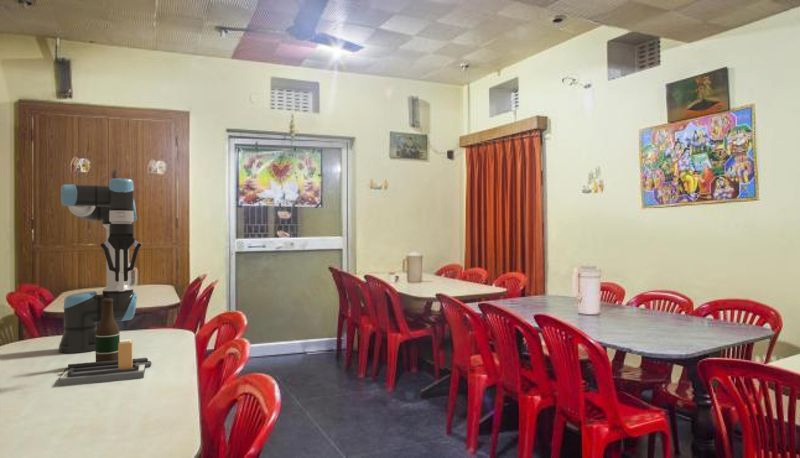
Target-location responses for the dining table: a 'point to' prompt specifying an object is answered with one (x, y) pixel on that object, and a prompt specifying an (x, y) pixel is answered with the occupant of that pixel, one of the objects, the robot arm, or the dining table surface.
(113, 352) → the beer bottle
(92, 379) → the grey rectangular tray
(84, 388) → the dining table surface
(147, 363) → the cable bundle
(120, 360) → the block
